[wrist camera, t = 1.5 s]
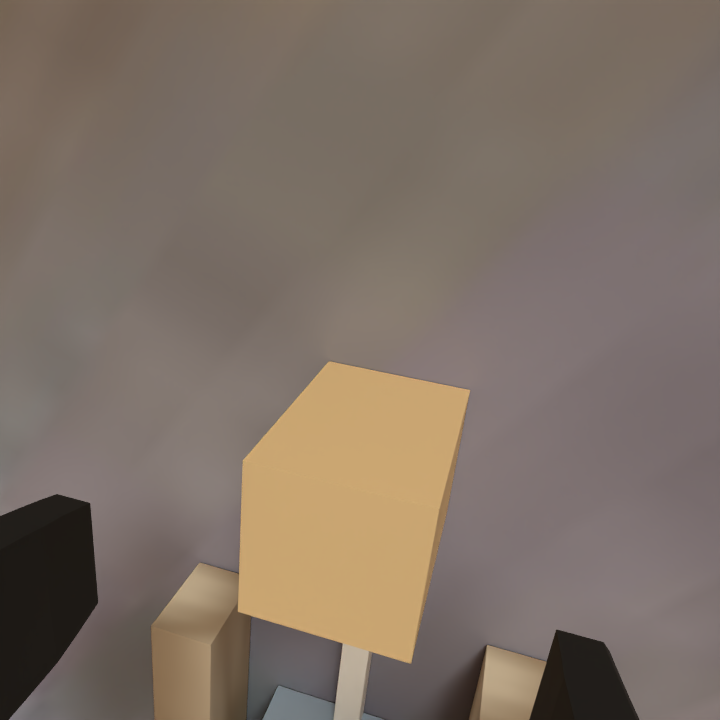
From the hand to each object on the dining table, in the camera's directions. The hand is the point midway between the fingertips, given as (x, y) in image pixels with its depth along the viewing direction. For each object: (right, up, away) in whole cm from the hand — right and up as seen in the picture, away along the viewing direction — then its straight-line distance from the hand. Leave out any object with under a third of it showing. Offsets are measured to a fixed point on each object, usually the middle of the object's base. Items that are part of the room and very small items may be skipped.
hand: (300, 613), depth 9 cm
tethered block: (+1, -3, +7) cm, 8 cm away
